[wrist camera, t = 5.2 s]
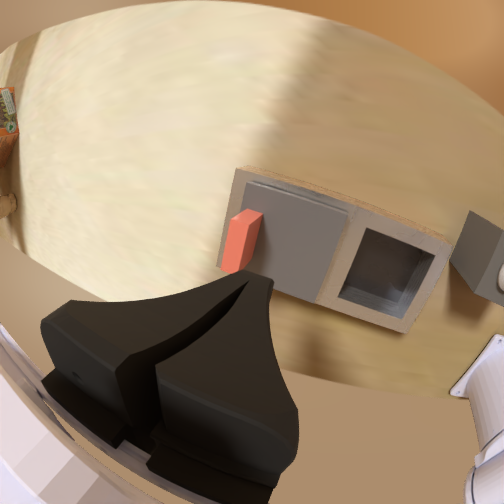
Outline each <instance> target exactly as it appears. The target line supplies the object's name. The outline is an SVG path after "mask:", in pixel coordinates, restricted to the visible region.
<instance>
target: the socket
mask: <svg viewBox="0 0 504 504" xmlns="http://www.w3.org/2000/svg"><path fill="white" fill-rule="evenodd" d="M249 181H251V182H255V183H258V184H261V185H265V186H268V187H272V188H275V189H278V190H281V191H285V192H288V193H291V194H294V195H297V196H300V197H304V198H307V199H310V200H313V201H316V202H319V203H322V204H325V205H327V206H330V207H333V208H336V209H339V210H342V211H345V212H347V213H348V216H347V219H346V222H345V225H344V228H343V231H342V233H341V236H340V239H339V242H338V244H337V247H336V250H335V252H334V255H333V258H332V260H331V263H330V265H329V268H328V271H327V273H326V276H325V278H324V281H323V283H322V285H321V288H320V290H319V293H318V295H317V298H316V300H315V302H314V303H316V304H319V305H322V306H325V307H327V308H330V309H333V310H336V311H339V312H342V313H345V314H347V315H350V316H353V317H356V318H359V319H362V320H365V321H368V322H371V323H374V324H377V325H380V326H383V327H386V328H389V329H392V330H395V331H398V332H401V333H404V334H407V332H408V331H409V329H410V327H411V326H412V324H413V323H414V321H415V319H416V318H417V316H418V315H419V313H420V311H421V310H422V308H423V306H424V304H425V303H426V301H427V299H428V297H429V295H430V294H431V292H432V290H433V288H434V286H435V284H436V282H437V281H438V279H439V277H440V275H441V273H442V271H443V269H444V266H445V264H446V262H447V260H448V258H449V256H450V254H451V251H452V249H453V247H454V246H453V245H452V244H451V243H450V242H449V241H448V240H447V239H446V238H445V237H444V236H443V235H441V234H439V233H437V232H435V231H433V230H430V229H428V228H426V227H424V226H422V225H419V224H417V223H415V222H412V221H410V220H408V219H405V218H403V217H400V216H398V215H396V214H393V213H391V212H388V211H386V210H383V209H381V208H378V207H375V206H373V205H370V204H368V203H365V202H362V201H360V200H357V199H354V198H351V197H349V196H346V195H343V194H340V193H337V192H334V191H331V190H328V189H325V188H322V187H319V186H316V185H313V184H310V183H307V182H304V181H301V180H297V179H294V178H291V177H288V176H284V175H281V174H277V173H274V172H270V171H267V170H263V169H260V168H256V167H252V166H244V167H239V168H236V170H235V175H234V180H233V184H232V189H231V194H230V199H229V203H228V208H227V213H226V218H225V223H224V228H223V233H222V238H221V244H220V249H219V254H218V260H217V265H216V266H217V267H219V268H221V264H222V259H223V254H224V249H225V244H226V239H227V234H228V229H229V225H230V220H231V218H233V217H235V216H236V215H238V214H239V213H240V209H241V204H242V200H243V195H244V191H245V186H246V182H249Z"/></svg>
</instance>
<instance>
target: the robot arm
mask: <svg viewBox="0 0 504 504" xmlns="http://www.w3.org/2000/svg"><path fill="white" fill-rule="evenodd" d="M274 283H275V282H274V281H273V279H271V278H268V277H265V276H262V275H259V274H256V273H253V272H250V271H246V270H243V269H242V270H239V271H237V272H235V273H232V274H230V275H228V276H225V277H223V278H221V279H218V280H216V281H213V282H211V283H208V284H205V285H203V286H200V287H197V288H194V289H191V290H188V291H185V292H181V293H177V294H173V295H169V296H164V297H159V298H153V299H145V300H138V301H127V302H90V301H77V300H70V301H68V302H67V303H65V304H64V305H62V306H61V307H60V308H58V309H57V310H55V311H54V312H52V313H51V314H49V315H48V316H47V317H45V318H44V319H42V321H41V326H40V328H41V334H42V337H43V340H44V343H45V345H46V348H47V350H48V352H49V355H50V357H51V359H52V361H53V364H54V366H55V369H54V370H53V371H52V372H50V373H49V374H48V375H47V376H46V375H45V374H44V373H43V372H42V371H41V370H40V369H39V368H38V367H37V366H36V365H35V364H34V362H33V361H32V360H31V359H30V358H29V357H28V356H27V355H26V354H25V352H24V351H23V350H22V349H21V348H20V347H19V345H18V344H17V343H16V342H15V341H14V339H13V338H12V337H11V336H10V335H9V333H8V332H7V331H6V329H5V328H4V327H3V325H2V324H1V323H0V504H164V503H162V502H160V501H158V500H156V499H155V498H153V497H151V496H149V495H148V494H146V493H144V492H143V491H141V490H139V489H138V488H136V487H134V486H133V485H131V484H130V483H128V482H127V481H125V480H124V479H123V478H121V477H120V476H118V475H117V474H115V473H114V472H113V471H111V470H110V469H108V468H107V467H106V466H104V465H103V464H101V463H100V462H99V461H97V460H96V459H95V458H94V457H93V456H91V455H90V454H89V453H87V452H86V451H85V450H84V449H83V448H82V447H80V446H79V445H78V444H77V443H76V442H75V440H74V439H73V438H72V437H71V436H70V434H69V433H68V432H67V431H66V430H65V429H64V428H63V426H62V425H61V424H60V422H59V421H58V420H57V418H56V417H55V415H54V413H53V412H52V411H51V410H50V408H49V407H48V406H47V405H46V404H45V403H44V401H45V402H46V403H47V404H48V405H49V406H50V407H51V408H52V409H53V410H54V411H55V412H56V413H57V414H58V415H60V417H62V418H63V419H64V420H65V421H66V422H67V423H68V424H69V425H70V426H72V427H73V428H74V429H75V430H76V431H77V432H79V433H80V434H81V435H82V436H83V437H85V438H86V439H87V440H88V441H90V442H91V443H92V444H93V445H95V446H96V447H97V448H99V449H100V450H101V451H103V452H104V453H106V454H107V455H108V456H110V457H111V458H113V459H114V460H115V461H117V462H118V463H120V464H121V465H123V466H124V467H126V468H128V469H129V470H131V471H132V472H134V473H136V474H137V475H139V476H141V477H142V478H144V479H146V480H148V481H149V482H151V483H153V484H155V485H157V486H158V487H160V488H162V489H164V490H166V491H168V492H170V493H172V494H174V495H176V496H178V497H180V498H183V499H185V500H187V501H189V502H191V503H194V504H269V503H268V501H269V499H270V496H271V494H272V491H273V488H275V487H276V486H277V483H278V480H279V478H280V475H281V473H282V472H283V471H284V470H285V469H286V468H287V467H288V466H289V465H290V464H291V463H292V462H293V460H294V459H295V457H296V454H297V450H298V442H299V420H298V409H297V407H296V405H295V403H294V401H293V399H292V398H291V395H290V393H289V391H288V389H287V387H286V384H285V382H284V380H283V377H282V375H281V372H280V368H279V365H278V362H277V359H276V356H275V352H274V348H273V343H272V338H271V331H270V322H269V302H270V298H271V294H272V291H273V287H274ZM450 394H451V395H454V396H459V397H465V398H469V401H470V405H471V409H472V413H473V417H474V422H475V426H476V431H477V436H478V442H479V448H480V453H479V454H478V455H476V456H475V457H474V458H475V466H473V467H472V468H471V469H470V471H469V473H468V475H467V478H466V480H465V483H464V489H463V501H464V504H504V336H502V335H499V334H496V335H494V336H493V338H492V339H491V341H490V342H489V343H488V345H487V346H486V348H485V349H484V350H483V352H482V353H481V354H480V356H479V357H478V358H477V359H476V361H475V362H474V363H473V365H472V366H471V367H470V368H469V369H468V371H467V372H466V373H465V374H464V375H463V377H462V378H461V379H460V380H459V381H458V382H457V383H456V385H455V386H454V387H453V388H452V389H451V390H450ZM43 400H44V401H43Z"/></svg>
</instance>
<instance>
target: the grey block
mask: <svg viewBox="0 0 504 504" xmlns="http://www.w3.org/2000/svg"><path fill="white" fill-rule="evenodd" d="M449 261H450V262H451V263H452V265H453V266H454V267H455V268H456V270H457V271H458V272H459V274H460V275H461V276H462V278H463V279H464V280H465V282H466V283H467V284H468V286H469V287H470V288H471V290H472V291H473V293H474V294H477V295H479V296H481V297H483V298H486V299H488V300H490V301H492V302H494V303H496V304H499V305H501V306H503V307H504V230H502V229H501V228H499V227H497V226H496V225H494V224H492V223H491V222H489V221H488V220H486V219H484V218H482V217H481V216H479V215H477V214H476V213H474V212H472V211H469V214H468V216H467V219H466V222H465V224H464V227H463V229H462V232H461V234H460V237H459V239H458V241H457V244H456V246H455V248H454V251H453V253H452V255H451V257H450V259H449Z"/></svg>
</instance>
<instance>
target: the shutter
mask: <svg viewBox="0 0 504 504" xmlns="http://www.w3.org/2000/svg"><path fill="white" fill-rule="evenodd" d="M347 216H348V213H347V212H345V211H342V210H339V209H336V208H333V207H330V206H327V205H325V204H322V203H319V202H316V201H313V200H310V199H307V198H304V197H300V196H297V195H294V194H291V193H288V192H285V191H281V190H278V189H275V188H272V187H268V186H265V185H261V184H258V183H255V182H251V181H249V182H246V186H245V191H244V195H243V200H242V204H241V209H240V213H239V214H238V215H236V216H235V217H233V218H231V220H230V225H229V229H228V234H227V239H226V244H225V249H224V254H223V259H222V264H221V270H223V271H225V272H228V273H230V274H232V273H235V272H237V271H239V270H242V269H243V270H246V271H250V272H253V273H256V274H259V275H262V276H265V277H268V278H271V279H273V281H274V282H275V283H274V287H273V289H275V290H278V291H281V292H283V293H286V294H289V295H292V296H294V297H297V298H300V299H303V300H305V301H308V302H311V303H314V302H315V300H316V298H317V295H318V293H319V290H320V288H321V285H322V283H323V281H324V278H325V276H326V273H327V271H328V268H329V265H330V263H331V260H332V258H333V255H334V252H335V250H336V247H337V244H338V242H339V239H340V236H341V233H342V231H343V228H344V225H345V222H346V219H347Z"/></svg>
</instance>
